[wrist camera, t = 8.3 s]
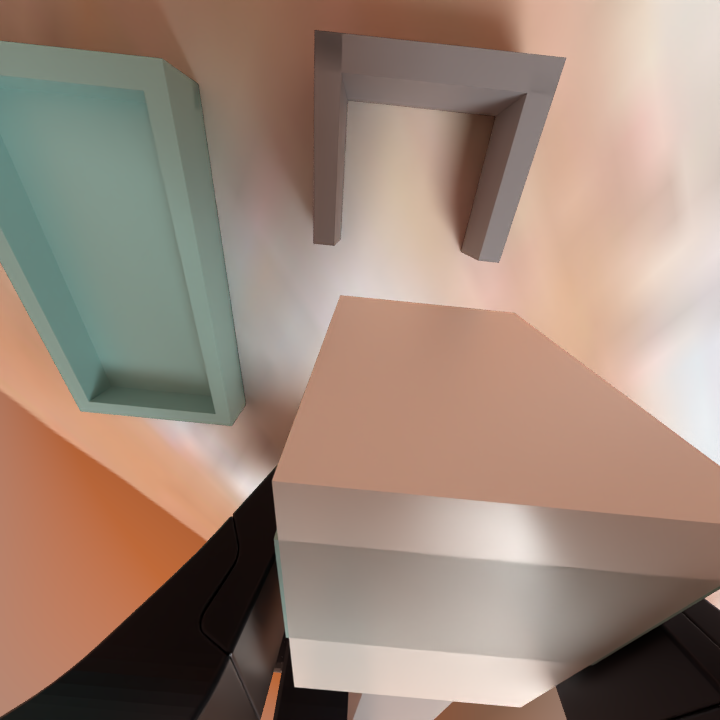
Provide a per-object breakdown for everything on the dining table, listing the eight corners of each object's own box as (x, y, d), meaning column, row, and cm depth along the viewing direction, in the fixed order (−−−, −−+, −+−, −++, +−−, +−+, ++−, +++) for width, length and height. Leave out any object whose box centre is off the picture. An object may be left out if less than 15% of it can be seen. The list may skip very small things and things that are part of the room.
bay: (477, 253, 16) (499, 262, 13) (323, 237, 16) (313, 243, 13) (525, 89, 12) (566, 58, 10) (327, 68, 12) (314, 29, 10)
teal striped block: (425, 544, 14) (456, 746, 9) (326, 535, 14) (297, 733, 9) (516, 313, 8) (813, 532, 3) (338, 294, 8) (266, 481, 2)
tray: (245, 404, 22) (231, 426, 20) (109, 391, 22) (80, 411, 20) (198, 84, 13) (161, 58, 10) (-40, 58, 13) (-127, 27, 10)
